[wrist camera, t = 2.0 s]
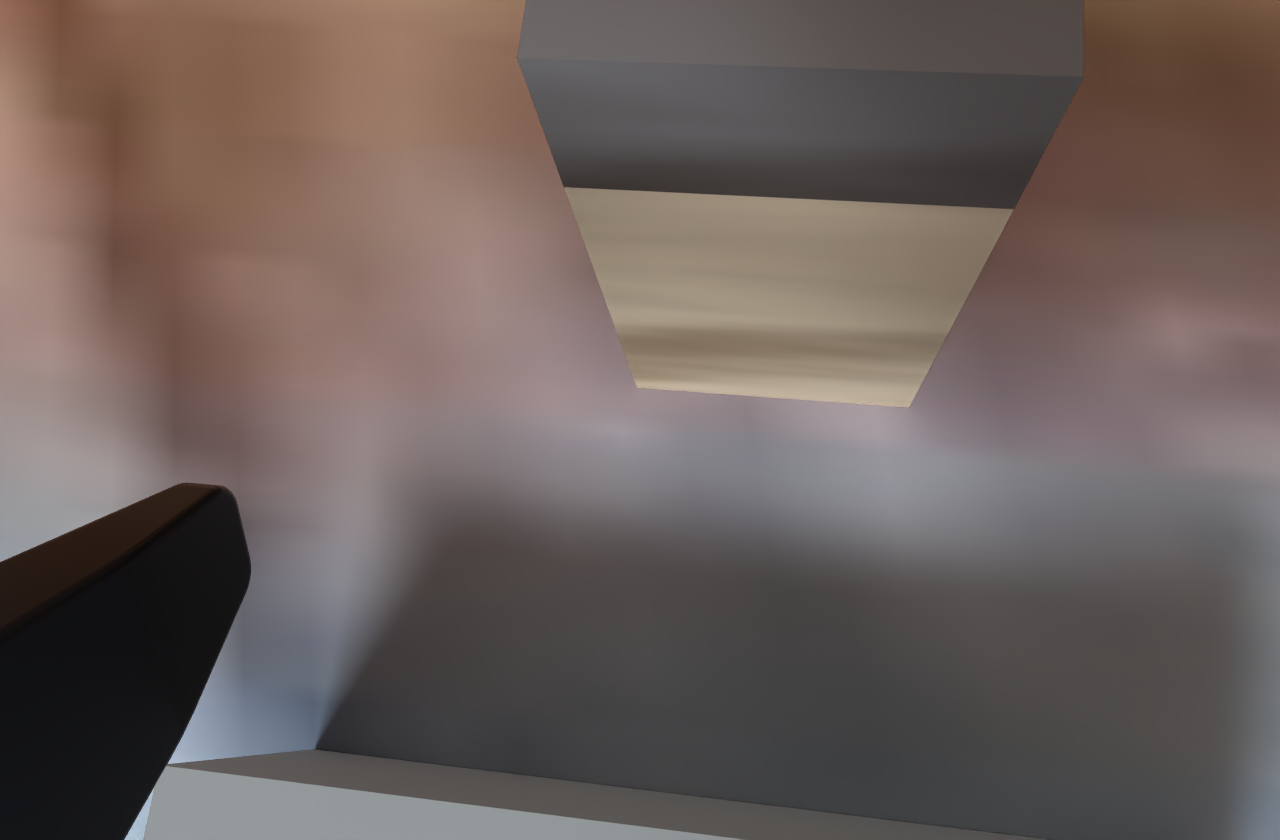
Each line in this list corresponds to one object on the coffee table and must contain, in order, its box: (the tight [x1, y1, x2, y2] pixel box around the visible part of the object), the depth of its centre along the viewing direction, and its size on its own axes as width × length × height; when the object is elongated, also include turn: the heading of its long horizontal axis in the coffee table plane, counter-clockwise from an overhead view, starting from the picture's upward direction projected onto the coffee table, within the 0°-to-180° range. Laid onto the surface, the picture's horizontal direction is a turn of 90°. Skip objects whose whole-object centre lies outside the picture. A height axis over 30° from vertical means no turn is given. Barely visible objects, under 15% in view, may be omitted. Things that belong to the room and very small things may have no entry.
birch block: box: [517, 0, 1084, 408], centre depth 18 cm, size 6×6×12 cm
